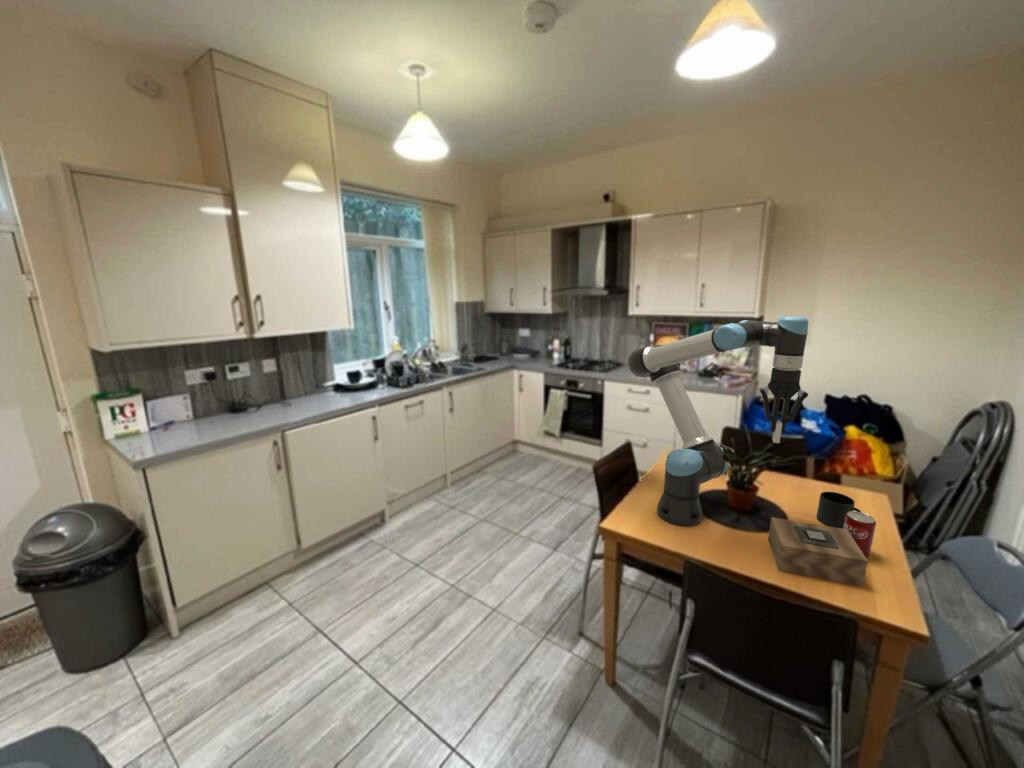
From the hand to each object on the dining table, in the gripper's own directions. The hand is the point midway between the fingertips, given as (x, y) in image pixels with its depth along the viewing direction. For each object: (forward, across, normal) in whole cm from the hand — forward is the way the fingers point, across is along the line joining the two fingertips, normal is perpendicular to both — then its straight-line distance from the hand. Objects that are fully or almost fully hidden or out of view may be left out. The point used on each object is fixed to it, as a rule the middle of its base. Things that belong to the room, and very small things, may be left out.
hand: (775, 441), depth 134 cm
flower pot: (+33, -10, +48) cm, 59 cm away
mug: (+33, +25, +15) cm, 44 cm away
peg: (+31, +11, -12) cm, 35 cm away
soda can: (+32, +24, -2) cm, 41 cm away
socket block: (+32, +11, -12) cm, 36 cm away
